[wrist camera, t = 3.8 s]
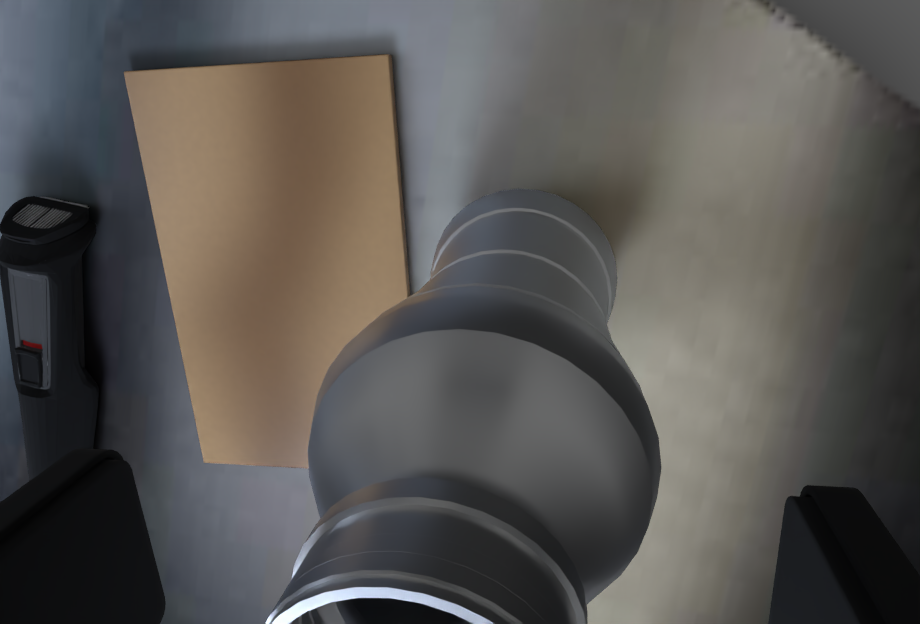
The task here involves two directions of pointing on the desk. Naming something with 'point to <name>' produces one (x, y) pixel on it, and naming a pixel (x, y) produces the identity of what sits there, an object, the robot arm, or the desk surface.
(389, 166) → the wooden board
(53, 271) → the electric trimmer
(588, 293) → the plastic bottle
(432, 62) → the desk surface
